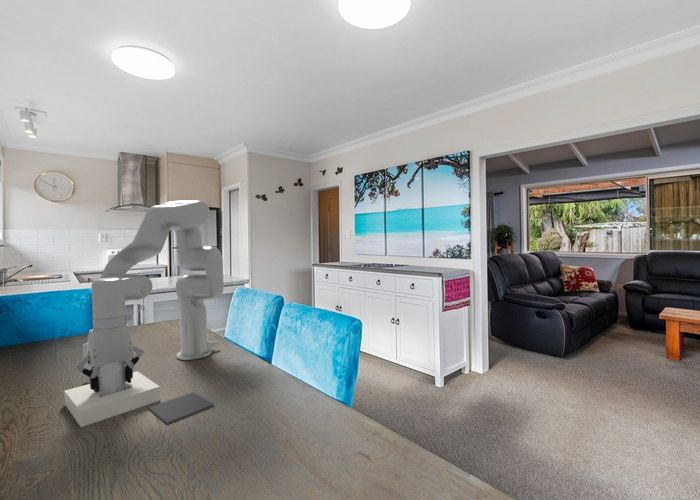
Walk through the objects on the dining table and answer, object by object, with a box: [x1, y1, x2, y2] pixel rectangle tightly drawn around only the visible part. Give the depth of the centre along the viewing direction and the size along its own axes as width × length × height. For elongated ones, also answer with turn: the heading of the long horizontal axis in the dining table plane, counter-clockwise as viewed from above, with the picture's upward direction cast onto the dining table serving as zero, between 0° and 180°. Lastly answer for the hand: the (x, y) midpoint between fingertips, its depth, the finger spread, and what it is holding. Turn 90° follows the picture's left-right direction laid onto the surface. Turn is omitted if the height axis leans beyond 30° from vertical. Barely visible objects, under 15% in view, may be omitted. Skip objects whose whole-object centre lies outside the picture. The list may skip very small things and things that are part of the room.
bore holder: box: [64, 371, 161, 428], centre depth 97 cm, size 18×18×4 cm
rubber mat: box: [148, 391, 215, 425], centre depth 94 cm, size 12×12×1 cm
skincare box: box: [97, 362, 126, 397], centre depth 97 cm, size 6×4×12 cm
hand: (112, 385), depth 97 cm, fingers closed on skincare box, 7 cm apart
